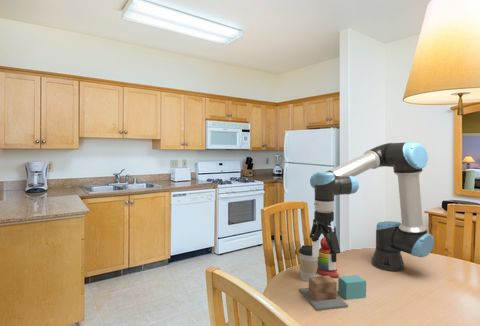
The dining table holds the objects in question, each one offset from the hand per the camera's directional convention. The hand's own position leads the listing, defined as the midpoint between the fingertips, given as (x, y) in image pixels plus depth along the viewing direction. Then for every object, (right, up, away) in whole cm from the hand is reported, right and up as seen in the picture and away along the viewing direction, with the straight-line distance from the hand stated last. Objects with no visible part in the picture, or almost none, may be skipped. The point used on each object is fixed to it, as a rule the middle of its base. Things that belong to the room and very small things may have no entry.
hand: (323, 262), depth 116 cm
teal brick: (+13, -15, +3) cm, 20 cm away
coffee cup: (-2, -14, +19) cm, 23 cm away
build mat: (0, -15, +1) cm, 15 cm away
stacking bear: (+9, -14, +25) cm, 30 cm away
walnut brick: (0, -14, +1) cm, 14 cm away
